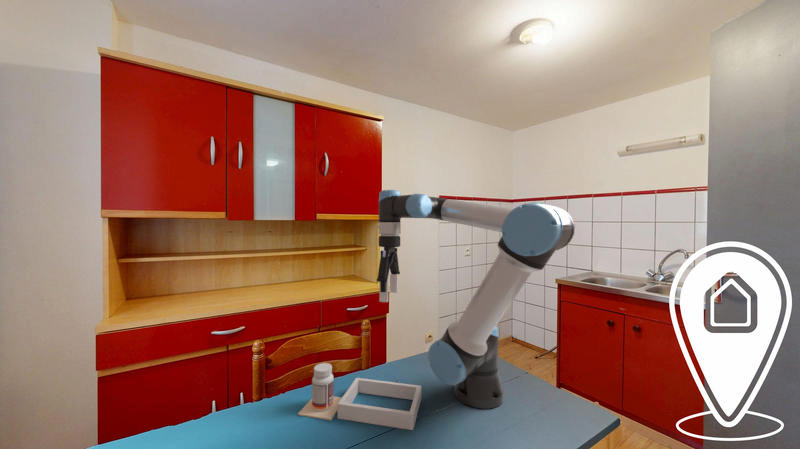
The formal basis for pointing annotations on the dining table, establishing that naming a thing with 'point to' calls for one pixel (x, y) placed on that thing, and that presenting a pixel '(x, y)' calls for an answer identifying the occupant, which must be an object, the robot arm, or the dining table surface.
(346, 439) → the dining table surface
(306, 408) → the mat
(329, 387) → the pill bottle
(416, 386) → the bin
